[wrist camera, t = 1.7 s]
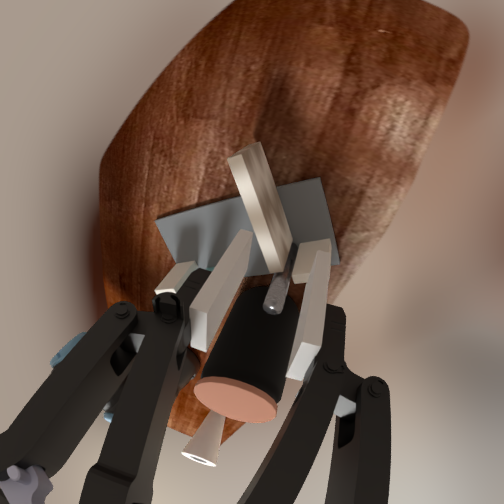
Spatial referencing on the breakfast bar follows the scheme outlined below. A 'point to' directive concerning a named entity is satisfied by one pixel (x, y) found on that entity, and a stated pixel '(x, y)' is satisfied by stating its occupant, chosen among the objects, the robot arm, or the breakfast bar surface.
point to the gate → (262, 204)
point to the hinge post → (280, 285)
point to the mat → (246, 226)
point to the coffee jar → (249, 360)
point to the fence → (299, 272)
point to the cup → (206, 440)
